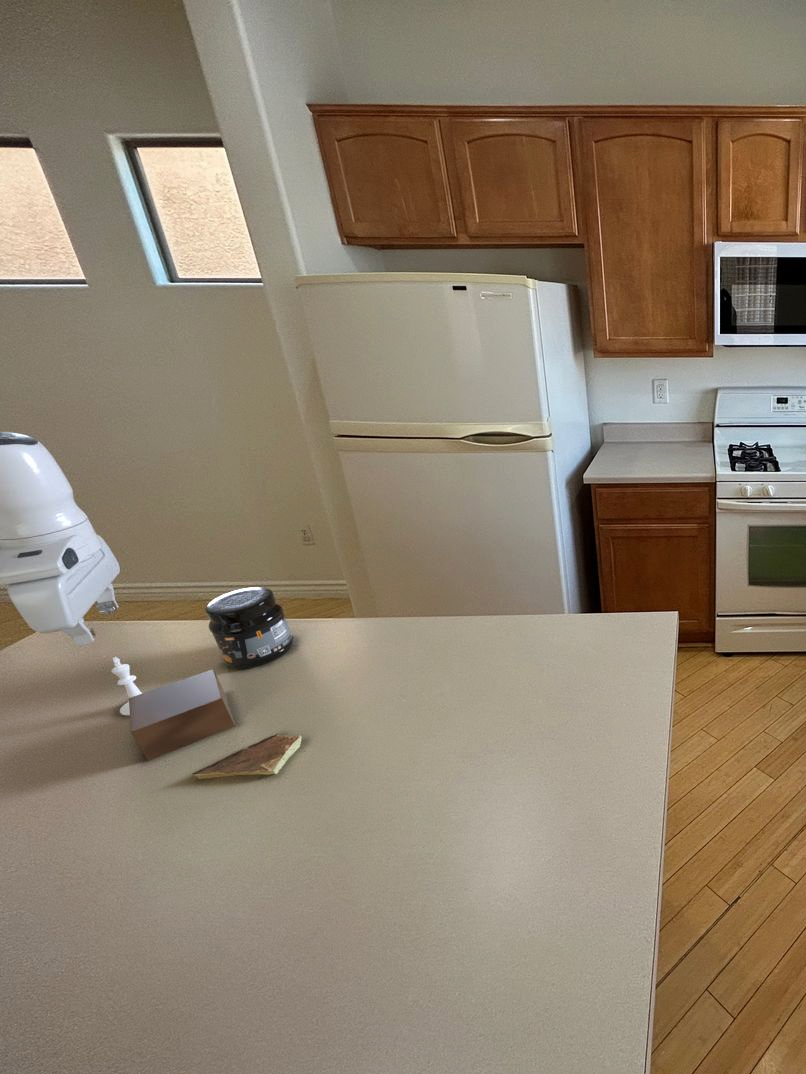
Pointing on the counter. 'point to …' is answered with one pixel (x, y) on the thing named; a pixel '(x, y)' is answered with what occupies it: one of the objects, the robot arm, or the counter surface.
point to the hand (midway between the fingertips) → (99, 626)
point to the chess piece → (125, 682)
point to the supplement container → (249, 627)
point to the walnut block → (179, 714)
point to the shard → (255, 758)
